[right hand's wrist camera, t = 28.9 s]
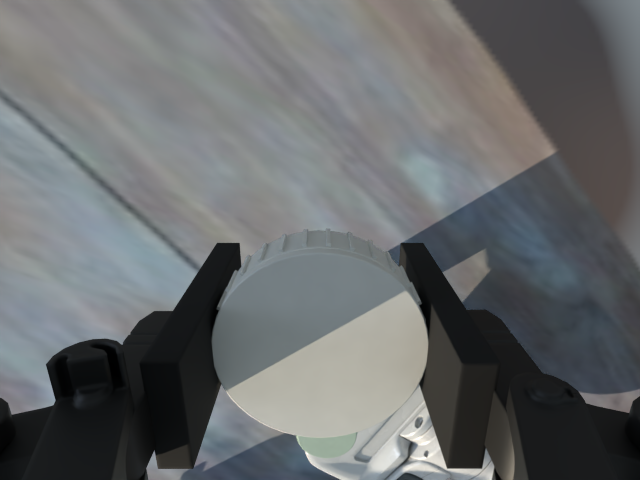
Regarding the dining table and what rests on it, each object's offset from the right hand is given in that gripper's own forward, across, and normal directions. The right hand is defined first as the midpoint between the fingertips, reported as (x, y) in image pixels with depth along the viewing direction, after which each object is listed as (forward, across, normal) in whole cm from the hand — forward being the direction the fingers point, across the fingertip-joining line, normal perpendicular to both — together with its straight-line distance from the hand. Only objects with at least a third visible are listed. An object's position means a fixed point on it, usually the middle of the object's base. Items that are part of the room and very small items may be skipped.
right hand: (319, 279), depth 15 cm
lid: (-4, 0, 0) cm, 4 cm away
